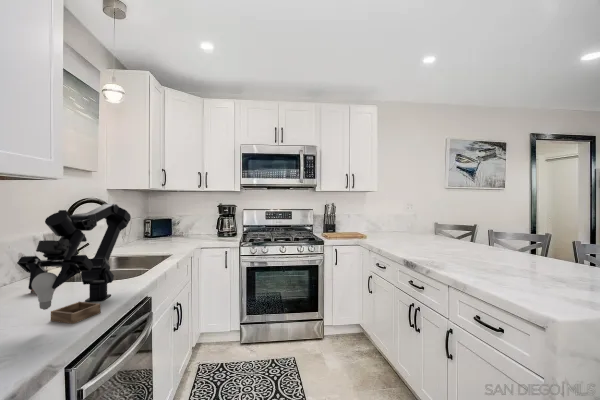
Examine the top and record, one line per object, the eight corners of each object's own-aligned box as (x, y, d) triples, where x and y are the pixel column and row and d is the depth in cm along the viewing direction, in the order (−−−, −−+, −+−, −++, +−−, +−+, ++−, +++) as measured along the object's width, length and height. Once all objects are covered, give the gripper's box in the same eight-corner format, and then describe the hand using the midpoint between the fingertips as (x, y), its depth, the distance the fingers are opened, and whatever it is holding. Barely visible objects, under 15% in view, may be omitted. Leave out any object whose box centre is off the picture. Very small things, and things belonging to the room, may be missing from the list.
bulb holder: (79, 310, 99) (79, 301, 99) (100, 312, 97) (100, 303, 97) (50, 320, 90) (50, 311, 91) (73, 323, 88) (73, 314, 88)
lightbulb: (31, 309, 85) (31, 272, 85) (57, 304, 89) (57, 269, 89) (31, 315, 81) (31, 276, 81) (59, 309, 85) (59, 272, 85)
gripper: (21, 230, 88) (-14, 275, 77) (87, 229, 90) (62, 273, 79) (42, 251, 96) (13, 294, 85) (101, 249, 98) (80, 292, 87)
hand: (41, 288), depth 84 cm, fingers closed on lightbulb, 6 cm apart
